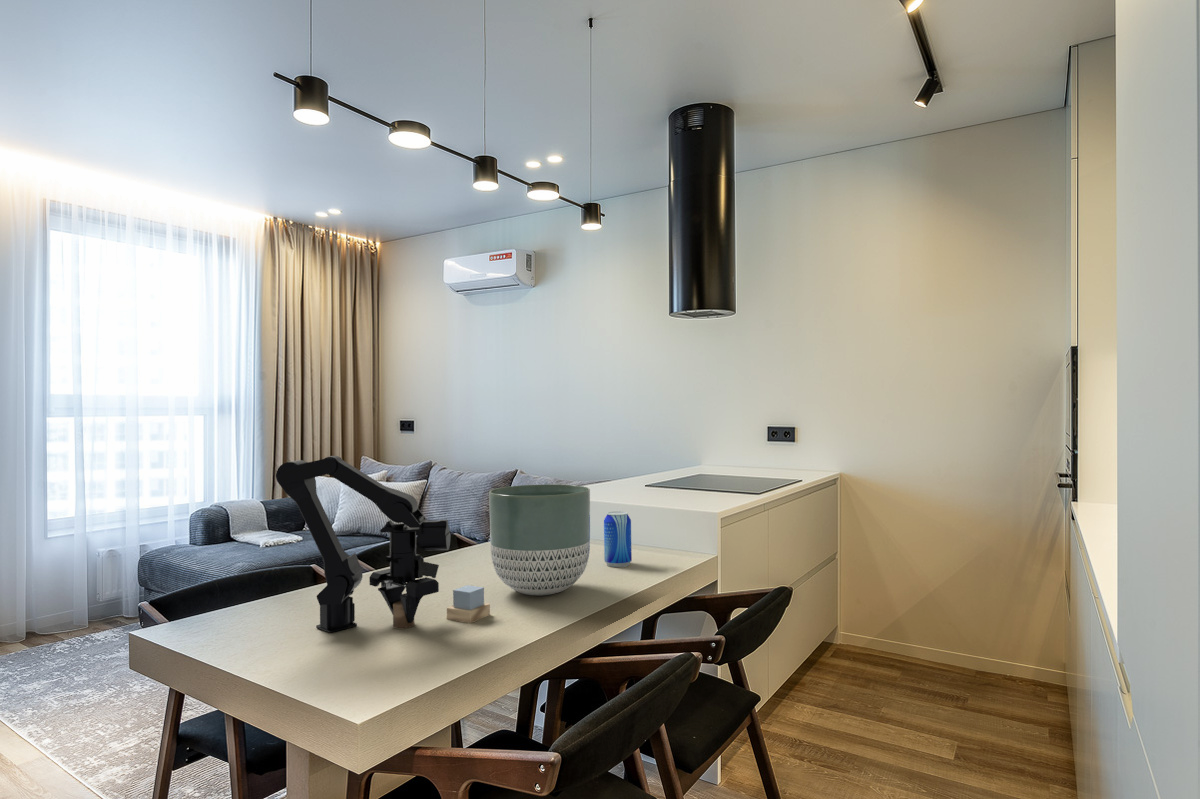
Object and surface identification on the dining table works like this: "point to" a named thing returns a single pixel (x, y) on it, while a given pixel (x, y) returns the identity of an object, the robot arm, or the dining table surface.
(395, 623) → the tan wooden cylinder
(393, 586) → the robot arm
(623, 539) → the beer can
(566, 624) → the dining table surface
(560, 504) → the planter
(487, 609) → the base block
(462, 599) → the top block
